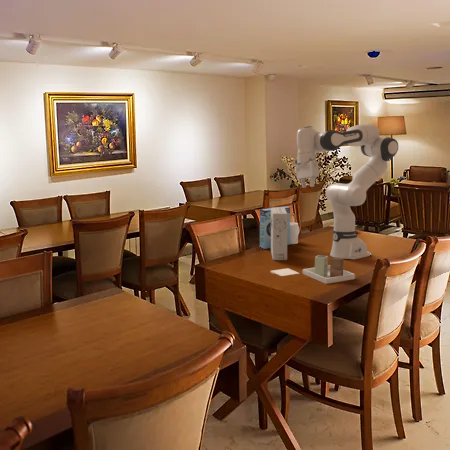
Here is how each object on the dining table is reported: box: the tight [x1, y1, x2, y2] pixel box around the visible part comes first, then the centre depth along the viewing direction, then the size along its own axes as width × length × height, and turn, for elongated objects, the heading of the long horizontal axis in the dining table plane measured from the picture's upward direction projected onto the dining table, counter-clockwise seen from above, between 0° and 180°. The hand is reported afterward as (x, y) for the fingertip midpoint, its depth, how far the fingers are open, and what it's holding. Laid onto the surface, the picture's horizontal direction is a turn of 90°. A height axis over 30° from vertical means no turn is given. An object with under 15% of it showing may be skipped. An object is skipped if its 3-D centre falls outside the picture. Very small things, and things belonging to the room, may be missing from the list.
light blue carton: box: [259, 206, 291, 250], centre depth 296 cm, size 20×5×23 cm, turn 124°
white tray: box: [302, 264, 356, 285], centre depth 232 cm, size 16×18×3 cm
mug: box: [290, 221, 300, 245], centre depth 307 cm, size 12×8×12 cm
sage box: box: [314, 254, 329, 277], centre depth 233 cm, size 4×4×9 cm
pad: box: [269, 268, 300, 277], centre depth 239 cm, size 10×10×1 cm
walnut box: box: [329, 257, 345, 278], centre depth 229 cm, size 4×4×9 cm
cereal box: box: [270, 206, 288, 261], centre depth 274 cm, size 22×8×25 cm, turn 178°
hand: (308, 187), depth 251 cm, fingers open, 8 cm apart
